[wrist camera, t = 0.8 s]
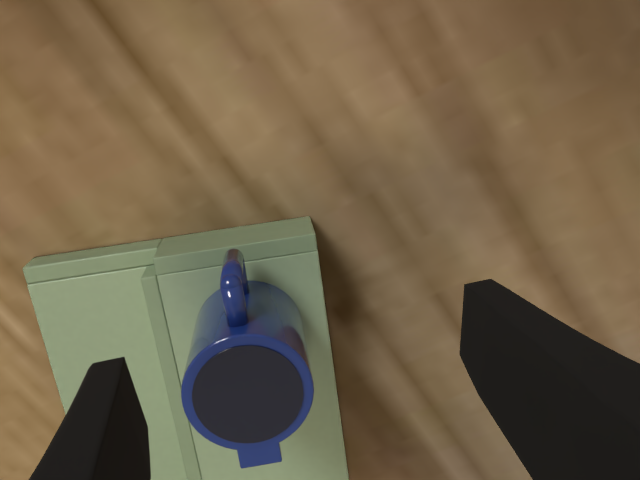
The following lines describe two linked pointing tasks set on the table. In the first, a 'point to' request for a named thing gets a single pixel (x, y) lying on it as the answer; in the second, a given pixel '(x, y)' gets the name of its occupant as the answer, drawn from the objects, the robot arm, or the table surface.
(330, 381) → the step rack
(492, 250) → the table surface
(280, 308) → the jug
